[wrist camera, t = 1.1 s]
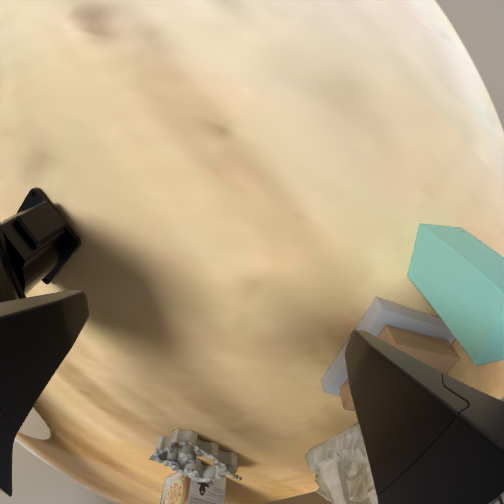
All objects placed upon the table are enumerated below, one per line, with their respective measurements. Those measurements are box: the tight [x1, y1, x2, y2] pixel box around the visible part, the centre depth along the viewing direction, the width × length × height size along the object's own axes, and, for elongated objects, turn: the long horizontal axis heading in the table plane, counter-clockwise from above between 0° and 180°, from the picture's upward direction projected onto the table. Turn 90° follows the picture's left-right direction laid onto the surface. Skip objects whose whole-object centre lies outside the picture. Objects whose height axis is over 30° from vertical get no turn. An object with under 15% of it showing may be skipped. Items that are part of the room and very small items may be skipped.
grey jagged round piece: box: [306, 423, 378, 504], centre depth 28 cm, size 16×16×15 cm
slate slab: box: [321, 297, 456, 395], centre depth 26 cm, size 10×10×2 cm
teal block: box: [407, 223, 504, 366], centre depth 17 cm, size 4×4×11 cm
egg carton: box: [149, 429, 242, 482], centre depth 32 cm, size 11×8×4 cm
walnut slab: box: [339, 325, 459, 411], centre depth 23 cm, size 8×8×2 cm
